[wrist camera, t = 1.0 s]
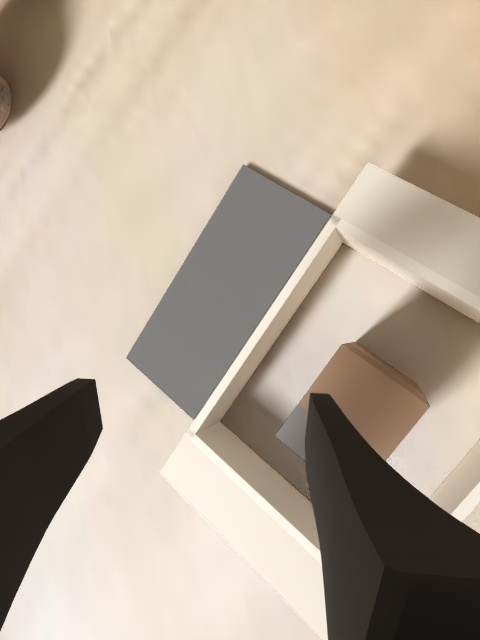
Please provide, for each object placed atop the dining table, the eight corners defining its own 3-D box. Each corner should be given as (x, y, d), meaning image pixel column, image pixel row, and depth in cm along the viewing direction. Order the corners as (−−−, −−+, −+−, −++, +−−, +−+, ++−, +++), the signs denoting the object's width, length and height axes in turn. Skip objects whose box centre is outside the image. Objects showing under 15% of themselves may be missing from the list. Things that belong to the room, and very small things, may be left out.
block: (416, 384, 21) (430, 405, 14) (362, 451, 22) (352, 501, 15) (355, 341, 22) (342, 344, 15) (306, 407, 23) (275, 435, 16)
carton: (607, 310, 18) (656, 305, 14) (346, 609, 22) (339, 658, 18) (370, 187, 22) (368, 162, 19) (187, 455, 26) (159, 472, 22)
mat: (331, 216, 23) (331, 214, 22) (196, 418, 26) (193, 419, 25) (245, 167, 25) (243, 164, 25) (129, 357, 28) (126, 357, 28)
